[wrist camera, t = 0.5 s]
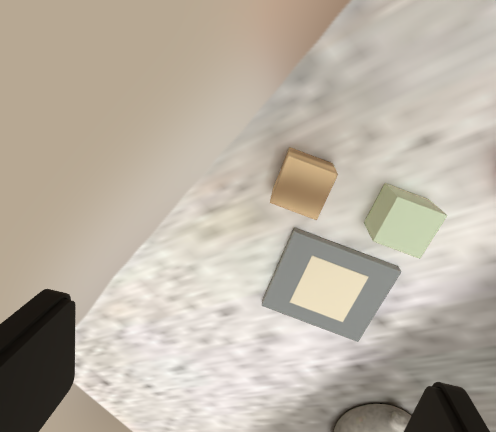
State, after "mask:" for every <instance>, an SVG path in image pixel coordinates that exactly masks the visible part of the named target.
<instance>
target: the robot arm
mask: <svg viewBox="0 0 496 432" xmlns="http://www.w3.org/2000/svg"><path fill="white" fill-rule="evenodd" d="M74 376H75V302H74V301H71V298H70V295H69V294H67V293H63V292H59V291H54V290H50V289H45V290H43V291H42V292H40V293H39V294H37V295H36V296H35V297H34V298H32V299H31V300H30V301H29V302H27V303H26V304H25V305H24V306H22V307H21V308H20V309H19V310H17V311H16V312H15V313H14V314H13V315H11V316H10V317H9V318H8V319H6V320H5V321H4V322H2V323H1V324H0V432H39V431H40V429H41V428H42V427H43V425H44V424H45V422H46V421H47V420H48V418H49V417H50V416H51V414H52V413H53V412H54V410H55V409H56V407H57V406H58V405H59V404H60V402H61V401H62V400H63V398H64V397H65V395H66V394H67V393H68V391H69V390H70V388H71V386H72V384H73V381H74ZM404 432H490V431H489V429H488V428H487V426H486V424H485V423H484V421H483V419H482V418H481V416H480V414H479V413H478V411H477V409H476V408H475V406H474V404H473V402H472V401H471V399H470V397H469V396H468V394H467V393H466V391H465V390H464V389H463V388H461V387H458V386H453V385H449V384H445V383H441V382H436V383H434V384H433V386H428V387H427V388H426V389H425V391H424V393H423V395H422V397H421V399H420V401H419V403H418V405H417V406H416V408H415V410H414V412H413V414H412V416H411V418H410V420H409V422H408V424H407V426H406V428H405V430H404Z"/></svg>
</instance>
